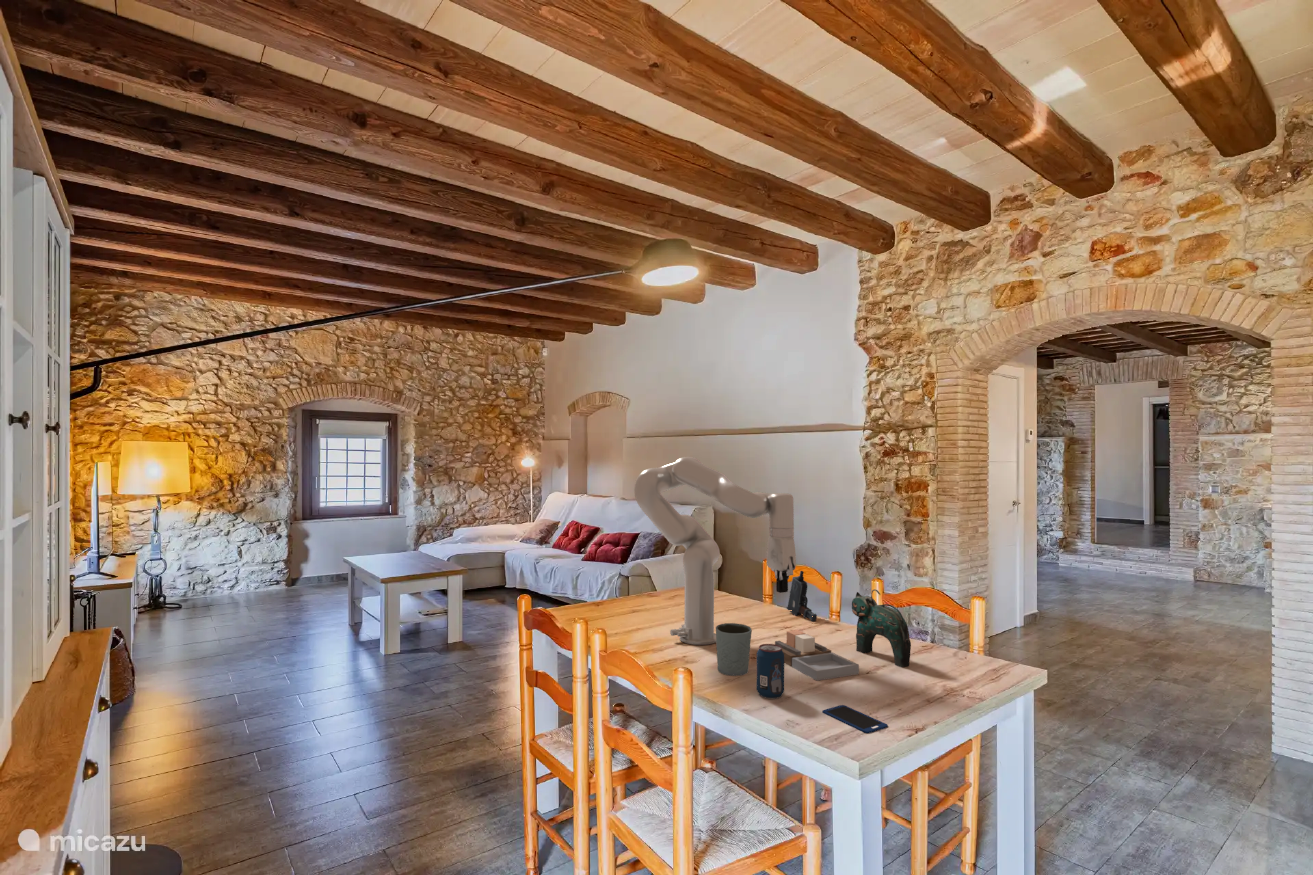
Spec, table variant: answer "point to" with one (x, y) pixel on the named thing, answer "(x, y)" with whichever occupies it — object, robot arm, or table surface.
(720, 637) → the green cup
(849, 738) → the table surface
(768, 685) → the soda can
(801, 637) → the cream block
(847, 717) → the cell phone
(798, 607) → the gun
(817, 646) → the slot board
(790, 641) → the terracotta block
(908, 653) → the ceramic cat
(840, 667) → the tray
